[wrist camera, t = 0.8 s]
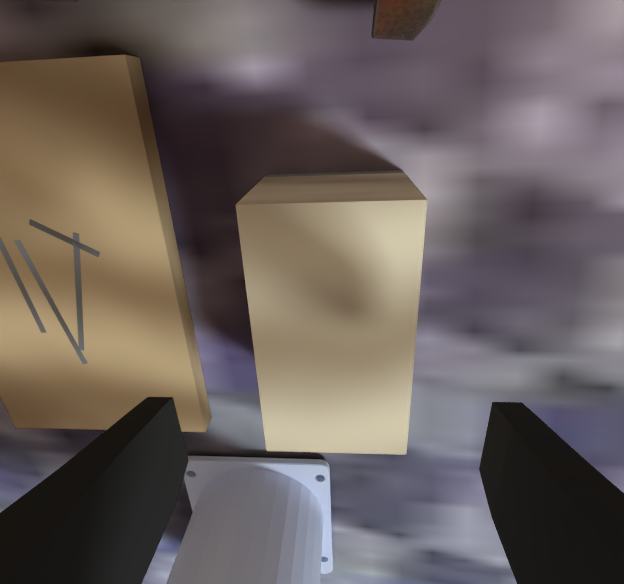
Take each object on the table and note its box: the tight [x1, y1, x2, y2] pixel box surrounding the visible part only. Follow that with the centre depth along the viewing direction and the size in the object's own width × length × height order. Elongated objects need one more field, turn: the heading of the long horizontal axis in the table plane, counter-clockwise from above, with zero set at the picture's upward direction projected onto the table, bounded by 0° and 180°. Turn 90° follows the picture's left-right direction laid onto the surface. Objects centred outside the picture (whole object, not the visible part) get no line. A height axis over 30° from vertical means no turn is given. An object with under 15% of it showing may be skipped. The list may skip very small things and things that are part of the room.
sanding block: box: [236, 170, 427, 455], centre depth 15 cm, size 9×5×5 cm, turn 2°
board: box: [0, 55, 211, 432], centre depth 17 cm, size 16×10×1 cm, turn 2°
